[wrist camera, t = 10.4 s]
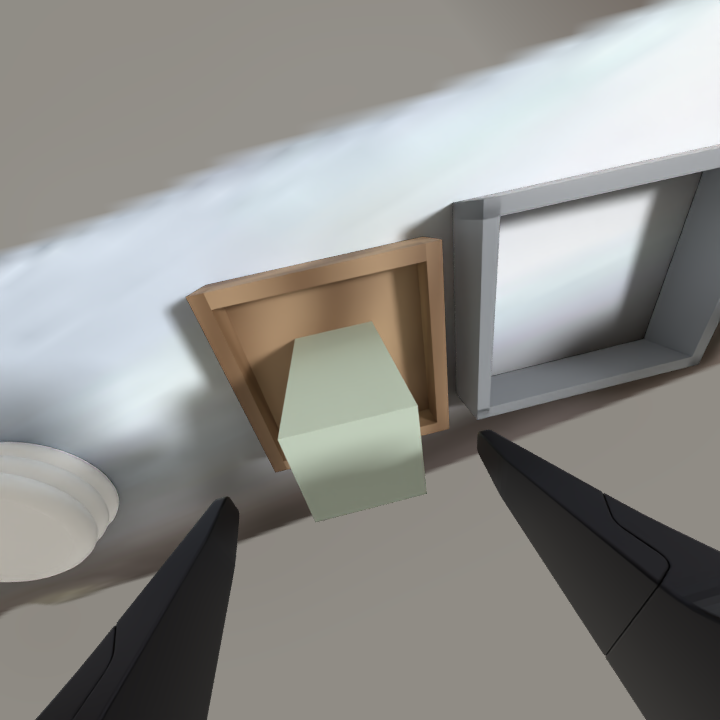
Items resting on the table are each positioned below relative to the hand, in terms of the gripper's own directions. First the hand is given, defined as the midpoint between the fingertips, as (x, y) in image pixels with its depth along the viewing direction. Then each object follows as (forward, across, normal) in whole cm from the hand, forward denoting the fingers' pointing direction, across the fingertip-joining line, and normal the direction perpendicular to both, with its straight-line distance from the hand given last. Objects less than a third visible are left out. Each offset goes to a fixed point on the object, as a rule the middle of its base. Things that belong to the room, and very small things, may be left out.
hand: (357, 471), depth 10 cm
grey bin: (+9, -16, -1) cm, 18 cm away
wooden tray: (+9, 0, 0) cm, 9 cm away
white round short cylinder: (+10, +23, +5) cm, 25 cm away
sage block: (+8, 0, 0) cm, 8 cm away
